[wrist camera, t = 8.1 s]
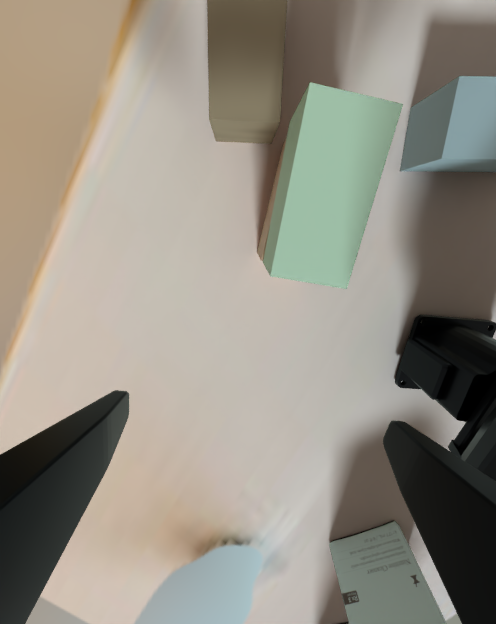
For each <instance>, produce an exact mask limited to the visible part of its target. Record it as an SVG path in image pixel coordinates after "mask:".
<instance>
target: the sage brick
mask: <svg viewBox="0 0 496 624" xmlns="http://www.w3.org/2000/svg"><path fill="white" fill-rule="evenodd" d="M402 106H403V104H401V103H396V102H392V101H388V100H384V99H379V98H375V97H371V96H367V95H362V94H358V93H354V92H350V91H345V90H341V89H337V88H332V87H328V86H324V85H320V84H315V83H311V82H310V83H309V85H308V87H307V89H306V91H305V93H304V95H303V97H302V99H301V101H300V103H299V105H298V107H297V109H296V111H295V113H294V115H293V117H292V119H291V121H290V123H289V129H288V134H287V139H286V144H285V149H284V155H283V160H282V165H281V170H280V175H279V181H278V186H277V191H276V196H275V201H274V207H273V212H272V217H271V222H270V228H269V233H268V238H267V243H266V248H265V254H264V259H263V263H264V265H265V267H266V269H267V271H268V273H269V275H270V276H272V277H278V278H284V279H290V280H296V281H302V282H308V283H314V284H320V285H326V286H332V287H338V288H344V289H347V286H348V283H349V280H350V276H351V273H352V270H353V266H354V263H355V260H356V257H357V253H358V250H359V247H360V243H361V240H362V237H363V234H364V230H365V227H366V224H367V221H368V217H369V214H370V211H371V207H372V204H373V201H374V198H375V194H376V191H377V188H378V184H379V181H380V178H381V175H382V171H383V168H384V165H385V162H386V158H387V155H388V152H389V148H390V145H391V142H392V139H393V135H394V132H395V129H396V125H397V122H398V119H399V116H400V112H401V109H402Z"/></svg>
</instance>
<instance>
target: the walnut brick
mask: <svg viewBox="0 0 496 624" xmlns="http://www.w3.org/2000/svg"><path fill="white" fill-rule="evenodd" d="M207 5H208V69H209V120H210V123H211V126H212V130H213V133H214V136H215V139H216V141H220V142H243V143H267V144H271V143H272V141H273V138H274V136H275V133H276V131H277V128H278V126H279V123H280V113H281V96H282V79H283V62H284V45H285V29H286V12H287V0H207Z"/></svg>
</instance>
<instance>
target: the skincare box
mask: <svg viewBox="0 0 496 624" xmlns="http://www.w3.org/2000/svg"><path fill="white" fill-rule="evenodd" d="M329 546H330V550H331V554H332V558H333V562H334V566H335V570H336V574H337V577H338V582H339V586H340V590H341V594H342V598H343V602H344V606H345V610H346V613H347V617H348V621H349V624H447V623H446V621H445V619H444V617H443V615H442V613H441V611H440V609H439V607H438V605H437V602H436V600H435V598H434V596H433V594H432V592H431V590H430V588H429V586H428V584H427V582H426V580H425V578H424V576H423V574H422V572H421V570H420V567H419V565H418V563H417V561H416V559H415V557H414V555H413V553H412V551H411V549H410V547H409V545H408V543H407V541H406V539H405V537H404V535H403V533H402V531H401V528H400V526H399V525H398V524H397V523H396V521H394V522H391V523H388V524H386V525H383V526H380V527H378V528H375V529H372V530H369V531H366V532H363V533H360V534H357V535H354V536H351V537H348V538H344V539H340V540H336V541H333V542H331V543H330V544H329Z"/></svg>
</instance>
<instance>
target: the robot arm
mask: <svg viewBox="0 0 496 624" xmlns="http://www.w3.org/2000/svg"><path fill="white" fill-rule="evenodd" d="M422 320H424V321H423V323H421V321H422ZM488 326H489V327H488ZM495 331H496V323H495V322H492V321H489V320H479V319H467V318H456V317H444V316H432V315H419V316H417V317H416V318H415V320H414V323H413V326H412V329H411V332H410V336H409V339H408V341H407V344H406V347H405V350H404V353H403V356H402V359H401V362H400V366H399V369H398V372H397V375H396V379H395V383H396V384H397V385H398V386H399V387H400V388H412V389H422V390H423V391H424V392H425V393H426V394H427V395H428V396H429V397H430V398H432V399H433V400H436V401H437V402H438V403H439V404H440V405H442V406H443V407H444V408H445V409H446V410H447V411H448V412H449V413H450V414H451V415H452V416H453V417H455V418H456V419H457V420H459V421H464V422H466V423H465V425H464V426H463V428H462V429H461V431H460V432H459V434H458V435H457V437H456V438H455V440H452V441H451V443H450V444H449V446H448V448H449V450H450V451H451V452H450V451H448V450H447V449H445V448H444V447H442V446H441V445H439V444H438V443H436V442H434V441H433V440H431V439H430V438H428V437H427V436H425V435H424V434H422V433H421V432H419V431H418V430H416V429H415V428H413V427H411V426H410V425H408V424H407V423H405V422H402V421H391V422H390V424H389V426H388V429H387V431H386V433H385V436H384V439H383V444H384V448H385V451H386V453H387V456H388V459H389V462H390V464H391V467H392V470H393V473H394V475H395V478H396V481H397V483H398V486H399V489H400V491H401V493H402V496H403V498H404V500H405V502H406V505H407V507H408V509H409V511H410V513H411V515H412V517H413V520H414V522H415V524H416V526H417V528H418V530H419V532H420V535H421V537H422V539H423V541H424V543H425V545H426V547H427V550H428V552H429V554H430V556H431V558H432V560H433V562H434V565H435V567H436V569H437V571H438V573H439V575H440V577H441V580H442V582H443V584H444V586H445V588H446V590H447V592H448V595H449V597H450V599H451V601H452V603H453V605H454V608H455V610H456V612H457V614H458V616H459V618H460V620H461V623H462V624H496V340H495V339H493V335H494V333H495ZM401 381H403V382H401ZM128 415H129V393H128V392H127V391H118V390H115V391H113V392H111V393H109V394H108V395H106V396H104V397H102V398H100V399H99V400H97V401H95V402H93V403H92V404H90V405H88V406H86V407H84V408H83V409H81V410H79V411H77V412H76V413H74V414H72V415H70V416H68V417H67V418H65V419H63V420H61V421H59V422H58V423H56V424H54V425H52V426H51V427H49V428H47V429H45V430H43V431H42V432H40V433H38V434H36V435H35V436H33V437H31V438H29V439H27V440H26V441H24V442H22V443H20V444H19V445H17V446H15V447H13V448H11V449H10V450H8V451H6V452H4V453H3V454H1V455H0V624H25V623H26V621H27V619H28V617H29V615H30V613H31V611H32V610H33V608H34V606H35V604H36V602H37V600H38V598H39V597H40V595H41V593H42V591H43V589H44V587H45V585H46V583H47V581H48V580H49V578H50V576H51V574H52V572H53V570H54V568H55V566H56V565H57V563H58V561H59V559H60V557H61V555H62V553H63V551H64V549H65V548H66V546H67V544H68V542H69V540H70V538H71V536H72V534H73V532H74V531H75V529H76V527H77V525H78V523H79V521H80V519H81V517H82V515H83V514H84V512H85V510H86V508H87V506H88V504H89V502H90V500H91V499H92V497H93V495H94V493H95V491H96V489H97V487H98V485H99V483H100V482H101V480H102V478H103V476H104V474H105V472H106V470H107V468H108V466H109V464H110V461H111V459H112V456H113V454H114V452H115V449H116V447H117V444H118V442H119V439H120V437H121V434H122V432H123V429H124V427H125V424H126V422H127V419H128Z"/></svg>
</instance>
